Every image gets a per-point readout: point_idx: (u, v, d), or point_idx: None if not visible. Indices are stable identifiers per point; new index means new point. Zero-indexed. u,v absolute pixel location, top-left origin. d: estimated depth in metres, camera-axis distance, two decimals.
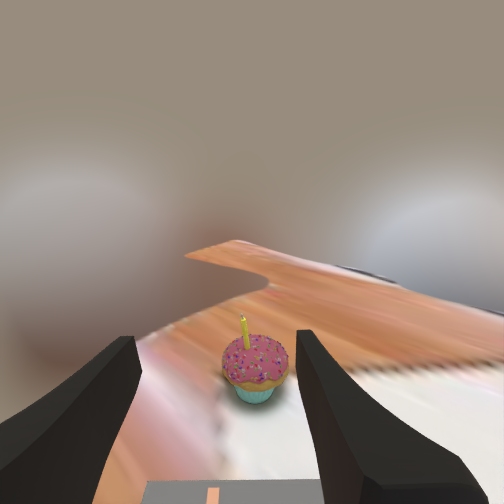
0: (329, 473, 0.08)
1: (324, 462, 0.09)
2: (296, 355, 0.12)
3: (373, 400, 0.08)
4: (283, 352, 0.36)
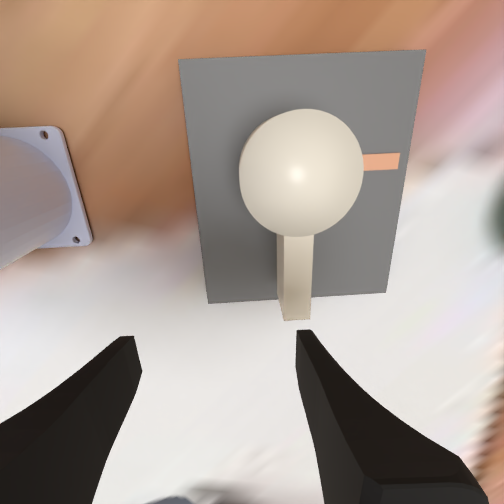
0: (329, 473, 0.08)
1: (324, 462, 0.09)
2: (296, 355, 0.12)
3: (373, 400, 0.08)
4: None
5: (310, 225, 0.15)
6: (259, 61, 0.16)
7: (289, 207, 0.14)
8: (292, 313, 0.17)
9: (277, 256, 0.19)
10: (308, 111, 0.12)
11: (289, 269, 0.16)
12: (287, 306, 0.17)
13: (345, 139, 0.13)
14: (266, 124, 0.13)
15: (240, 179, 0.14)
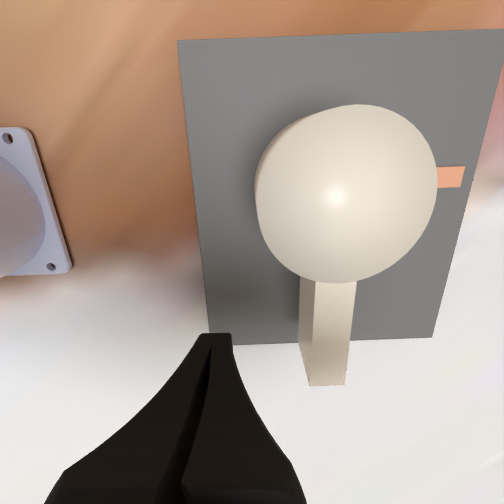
0: None
1: None
2: None
3: (248, 404, 0.08)
4: None
5: (354, 268, 0.10)
6: (285, 43, 0.12)
7: (326, 244, 0.10)
8: (321, 377, 0.13)
9: (300, 296, 0.15)
10: (363, 108, 0.08)
11: (321, 323, 0.12)
12: (315, 368, 0.13)
13: (414, 149, 0.09)
14: (299, 127, 0.09)
15: (258, 205, 0.09)
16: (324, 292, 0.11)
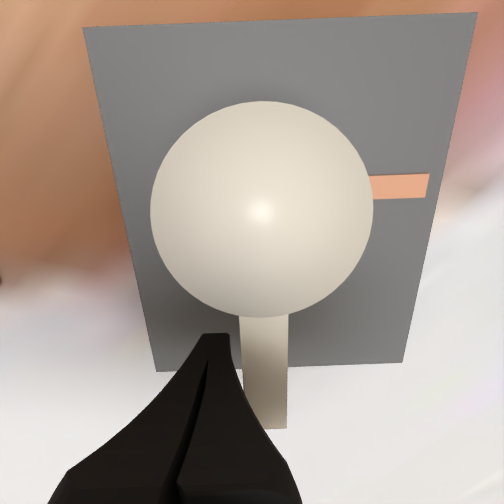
0: None
1: None
2: None
3: (245, 404, 0.08)
4: None
5: (280, 300, 0.09)
6: (210, 31, 0.10)
7: (243, 272, 0.08)
8: None
9: None
10: (268, 106, 0.07)
11: (251, 361, 0.10)
12: None
13: (339, 158, 0.07)
14: (191, 130, 0.07)
15: (153, 226, 0.08)
16: (250, 326, 0.09)
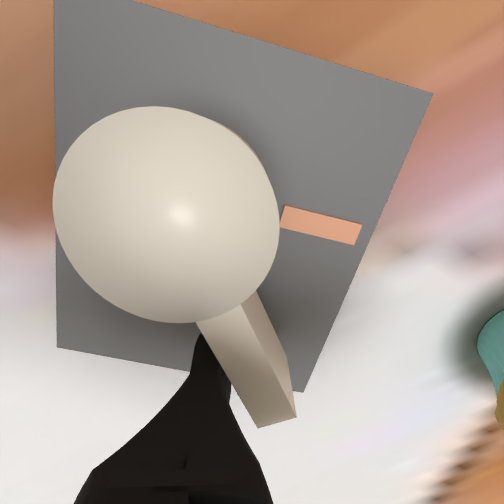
0: None
1: None
2: None
3: (224, 405, 0.08)
4: None
5: (222, 295, 0.08)
6: (186, 26, 0.10)
7: (173, 280, 0.08)
8: (265, 416, 0.11)
9: None
10: (116, 118, 0.07)
11: (229, 361, 0.10)
12: (253, 409, 0.11)
13: (207, 138, 0.07)
14: (61, 168, 0.07)
15: (74, 265, 0.08)
16: (211, 328, 0.09)
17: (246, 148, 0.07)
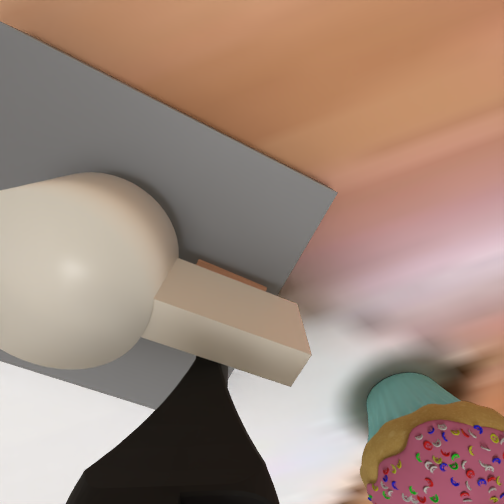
0: None
1: None
2: None
3: (229, 405, 0.08)
4: None
5: (132, 305, 0.09)
6: (122, 91, 0.11)
7: (91, 322, 0.09)
8: (284, 372, 0.10)
9: None
10: None
11: (203, 349, 0.10)
12: (267, 373, 0.10)
13: None
14: None
15: (30, 361, 0.09)
16: (162, 334, 0.09)
17: (21, 190, 0.07)
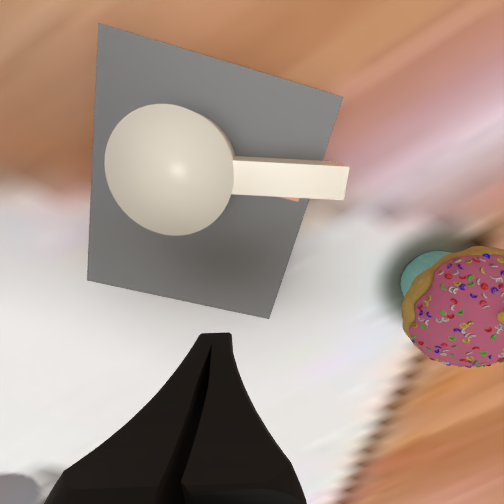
0: None
1: None
2: None
3: (248, 404, 0.08)
4: (457, 365, 0.19)
5: (220, 166, 0.13)
6: (181, 53, 0.16)
7: (199, 189, 0.14)
8: (335, 189, 0.14)
9: None
10: (106, 167, 0.13)
11: (274, 189, 0.14)
12: (324, 194, 0.14)
13: (128, 127, 0.13)
14: (121, 207, 0.14)
15: (170, 234, 0.14)
16: (244, 187, 0.14)
17: (140, 108, 0.12)
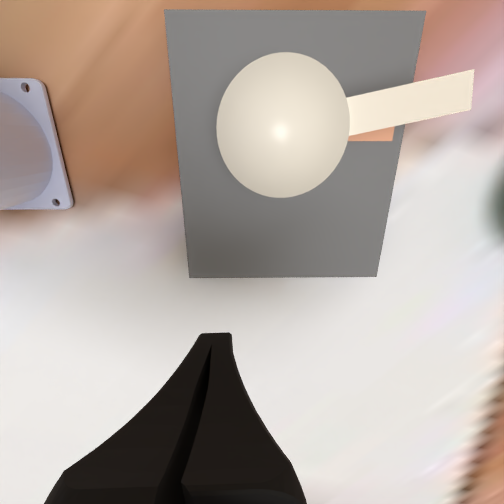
0: None
1: None
2: None
3: (248, 404, 0.08)
4: None
5: (335, 107, 0.12)
6: (249, 15, 0.15)
7: (315, 138, 0.13)
8: (460, 99, 0.13)
9: None
10: (219, 140, 0.13)
11: (392, 118, 0.13)
12: (448, 109, 0.13)
13: (237, 90, 0.12)
14: (238, 179, 0.14)
15: (290, 195, 0.14)
16: (360, 124, 0.13)
17: (246, 67, 0.12)
